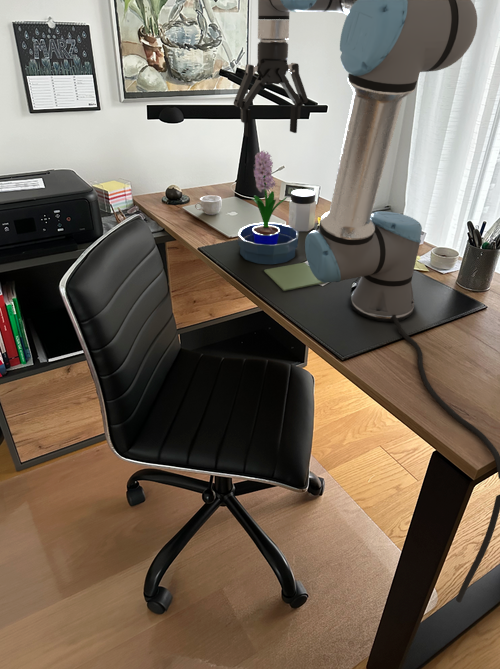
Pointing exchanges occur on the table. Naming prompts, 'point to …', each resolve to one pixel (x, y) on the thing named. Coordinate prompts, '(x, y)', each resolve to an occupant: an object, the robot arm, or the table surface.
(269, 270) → the mat
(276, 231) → the hyacinth
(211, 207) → the teacup
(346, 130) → the robot arm
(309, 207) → the jar
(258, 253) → the bowl
